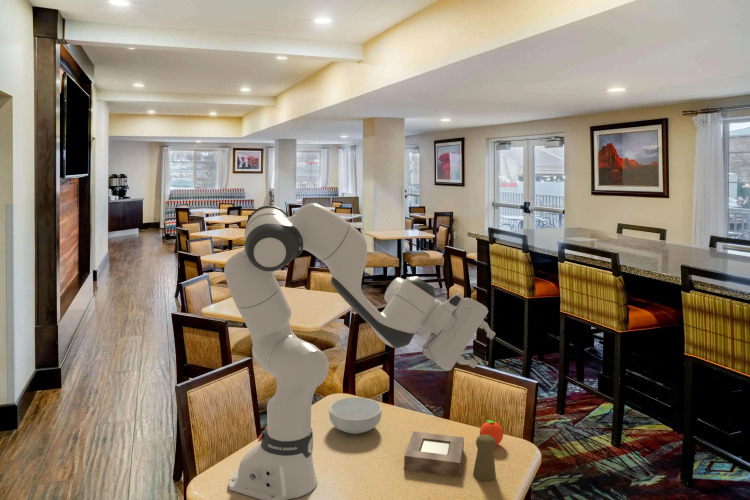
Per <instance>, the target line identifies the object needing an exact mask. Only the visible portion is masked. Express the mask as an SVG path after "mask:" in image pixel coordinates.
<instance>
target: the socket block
mask: <svg viewBox="0 0 750 500" xmlns="http://www.w3.org/2000/svg"><path fill="white" fill-rule="evenodd" d="M424 440H425V441H433V442H441V443H449V444H450V446H449V451H448V455H445V454H437V453H429V452H421V448H422V445H423V442H424ZM464 442H465V438H464V436H463V437H462V436H456V435H455V436H453V435H446V434H445V435H444V434H437V433H432V432H431V433H429V432H421V431H413V432H412V434H411V436H410V440H409V442H408V445H407V448H406V451H405V452H404V459H403V460H404V461H403V463H404V464H403V470H407V471H413V472H420V473H425V474H426V473H427V474H433V475H434V474H435V475H442V476H449V477H455V478H460V475H461V470H462V461H463V454H464V447H465V446H464Z"/></svg>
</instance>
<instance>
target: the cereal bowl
mask: <svg viewBox="0 0 750 500" xmlns="http://www.w3.org/2000/svg"><path fill="white" fill-rule="evenodd" d="M382 413H383V412H382V405H381V404H380V403H379V402H378V401H376V400H374V399H372V398H367V397H360V396H359V397H356V396H355V397H353V396H352V397H345V398H340V399H337V400H336V401H334V402H332V403H331V404H330V405H329V408H328V415H329V421H330V422H331V424H332V425H333V426H334V427H335V428H336V429H338V430H339V431H341V432H343V433H344V432H345V433H347V434H351V435H359V434H363V433H366V432H368V431H371V430H372V429H374V428H376V427H377V425H378V424H379V423H380V422H381V419H382Z"/></svg>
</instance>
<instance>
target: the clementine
mask: <svg viewBox="0 0 750 500" xmlns="http://www.w3.org/2000/svg"><path fill="white" fill-rule="evenodd" d="M480 435H490V436H492V437H493V438H494V439H495V441H496V446H497V445H499V444H500V443H501V442H502V440H503V437H504V431H503V429H502V427H501V425H500V424H499V423H498V422H496V421H493V420H491V419H488V420H487V419H486V420H484V423H483V424H482V425H481V427H480V430H479V436H480Z"/></svg>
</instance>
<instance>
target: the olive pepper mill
mask: <svg viewBox="0 0 750 500" xmlns="http://www.w3.org/2000/svg"><path fill="white" fill-rule="evenodd" d="M475 445H476V448H477V451H476V457H475V462H474V467H473V472H472V476H473V477H474V479H476V480H477V481H479V482H483V483H484V482H485V483H490V482H494V481H495V480H496V478H497V476H496V462H495V454H494V453H495V452H494V450H495V449H496V446H497V445H496V441H495V439H494V438H493V437H492V436H490V435H480V434H479V435H478V436H477V438H476V439H475Z"/></svg>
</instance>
